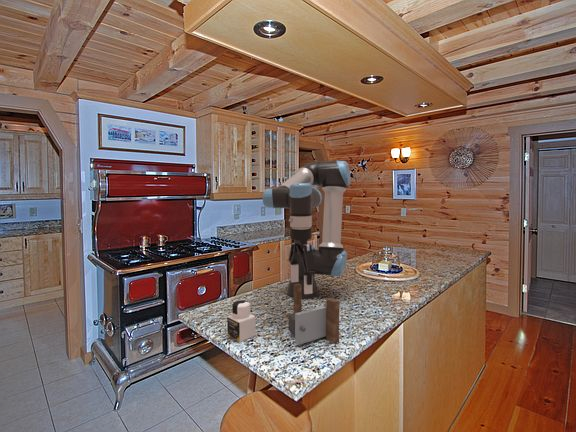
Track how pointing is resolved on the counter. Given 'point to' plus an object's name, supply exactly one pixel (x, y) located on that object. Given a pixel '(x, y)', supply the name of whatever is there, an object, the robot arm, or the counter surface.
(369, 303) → the counter surface
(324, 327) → the door
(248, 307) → the medicine bottle
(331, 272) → the robot arm
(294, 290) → the doorframe
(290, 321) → the dark grey block
